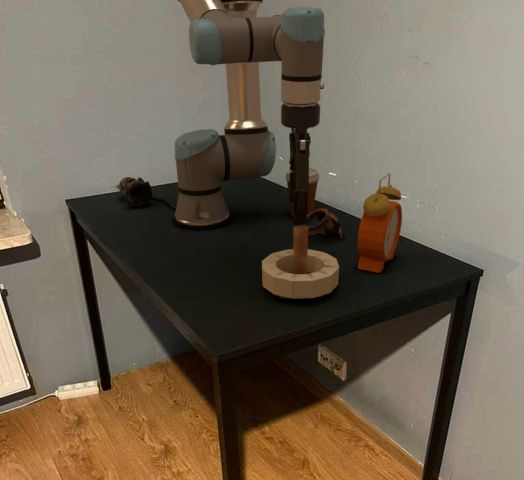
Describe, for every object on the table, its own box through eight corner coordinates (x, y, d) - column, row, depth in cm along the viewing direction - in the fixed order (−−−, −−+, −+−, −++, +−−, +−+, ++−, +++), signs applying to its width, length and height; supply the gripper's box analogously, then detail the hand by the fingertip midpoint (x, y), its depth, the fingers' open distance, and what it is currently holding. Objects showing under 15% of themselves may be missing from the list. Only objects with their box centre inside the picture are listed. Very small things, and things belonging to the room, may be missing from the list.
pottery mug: (345, 245, 139) (332, 220, 133) (312, 258, 142) (297, 235, 137) (344, 217, 147) (331, 193, 141) (312, 230, 150) (298, 207, 145)
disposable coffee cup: (283, 209, 161) (283, 167, 154) (315, 208, 162) (316, 166, 155) (287, 220, 153) (287, 177, 146) (320, 219, 154) (322, 176, 147)
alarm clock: (379, 276, 122) (390, 186, 111) (354, 271, 125) (361, 183, 114) (398, 255, 132) (409, 170, 121) (373, 250, 134) (382, 167, 124)
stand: (279, 298, 114) (279, 236, 107) (277, 279, 122) (277, 220, 115) (322, 297, 114) (325, 235, 107) (318, 278, 122) (320, 219, 115)
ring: (248, 288, 115) (248, 271, 113) (283, 260, 127) (283, 244, 125) (318, 305, 108) (319, 286, 106) (348, 273, 120) (349, 257, 118)
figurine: (123, 192, 158) (109, 173, 168) (133, 216, 164) (119, 197, 174) (150, 180, 160) (134, 162, 170) (159, 204, 166) (144, 186, 176)
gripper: (328, 117, 95) (321, 234, 108) (314, 90, 114) (309, 192, 127) (284, 118, 95) (283, 235, 107) (278, 90, 114) (277, 192, 127)
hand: (297, 212), depth 117 cm, fingers open, 12 cm apart
